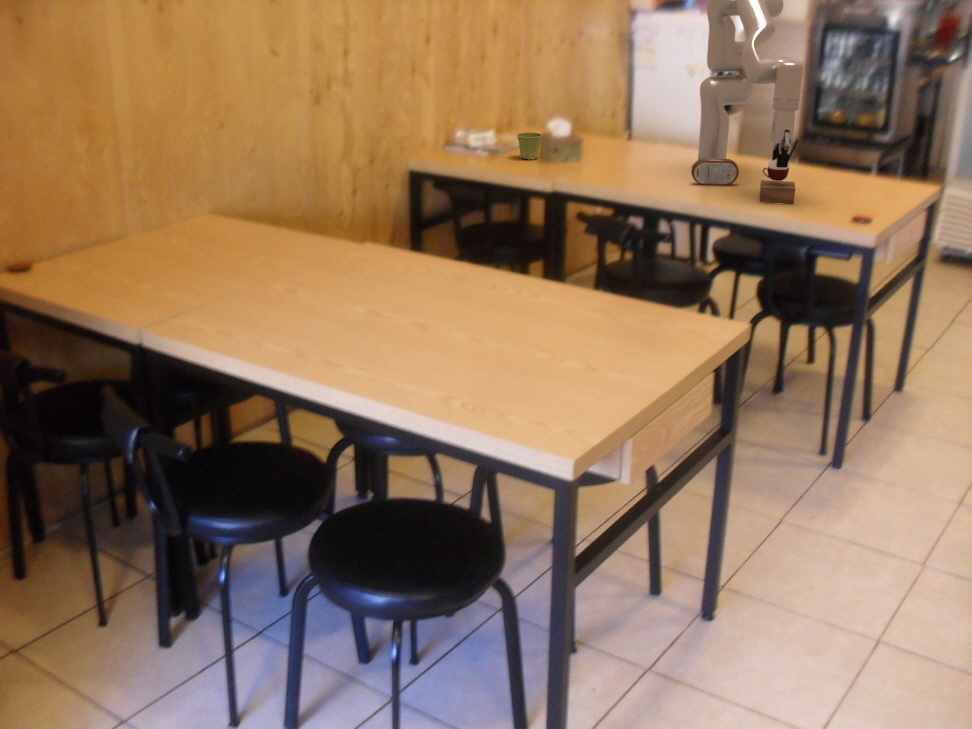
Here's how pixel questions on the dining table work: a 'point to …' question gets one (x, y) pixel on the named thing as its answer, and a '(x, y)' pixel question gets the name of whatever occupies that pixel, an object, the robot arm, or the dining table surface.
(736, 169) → the tin
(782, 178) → the cocoa
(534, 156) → the plant pot
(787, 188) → the walnut block
